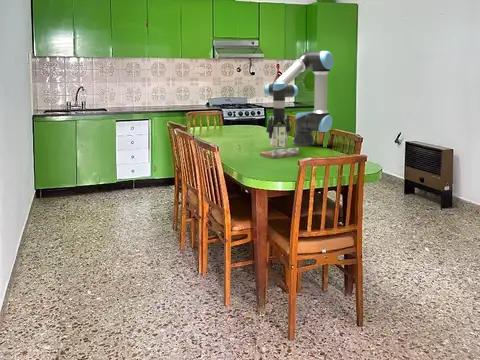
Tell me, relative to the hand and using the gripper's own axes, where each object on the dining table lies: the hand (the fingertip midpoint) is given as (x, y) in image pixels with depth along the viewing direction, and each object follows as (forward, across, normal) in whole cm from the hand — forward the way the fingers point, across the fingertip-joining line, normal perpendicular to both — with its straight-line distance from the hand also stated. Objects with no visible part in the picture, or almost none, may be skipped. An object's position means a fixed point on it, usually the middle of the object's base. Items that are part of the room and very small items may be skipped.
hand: (278, 142), depth 318 cm
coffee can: (+3, 0, 0) cm, 3 cm away
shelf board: (+8, 0, +1) cm, 8 cm away
